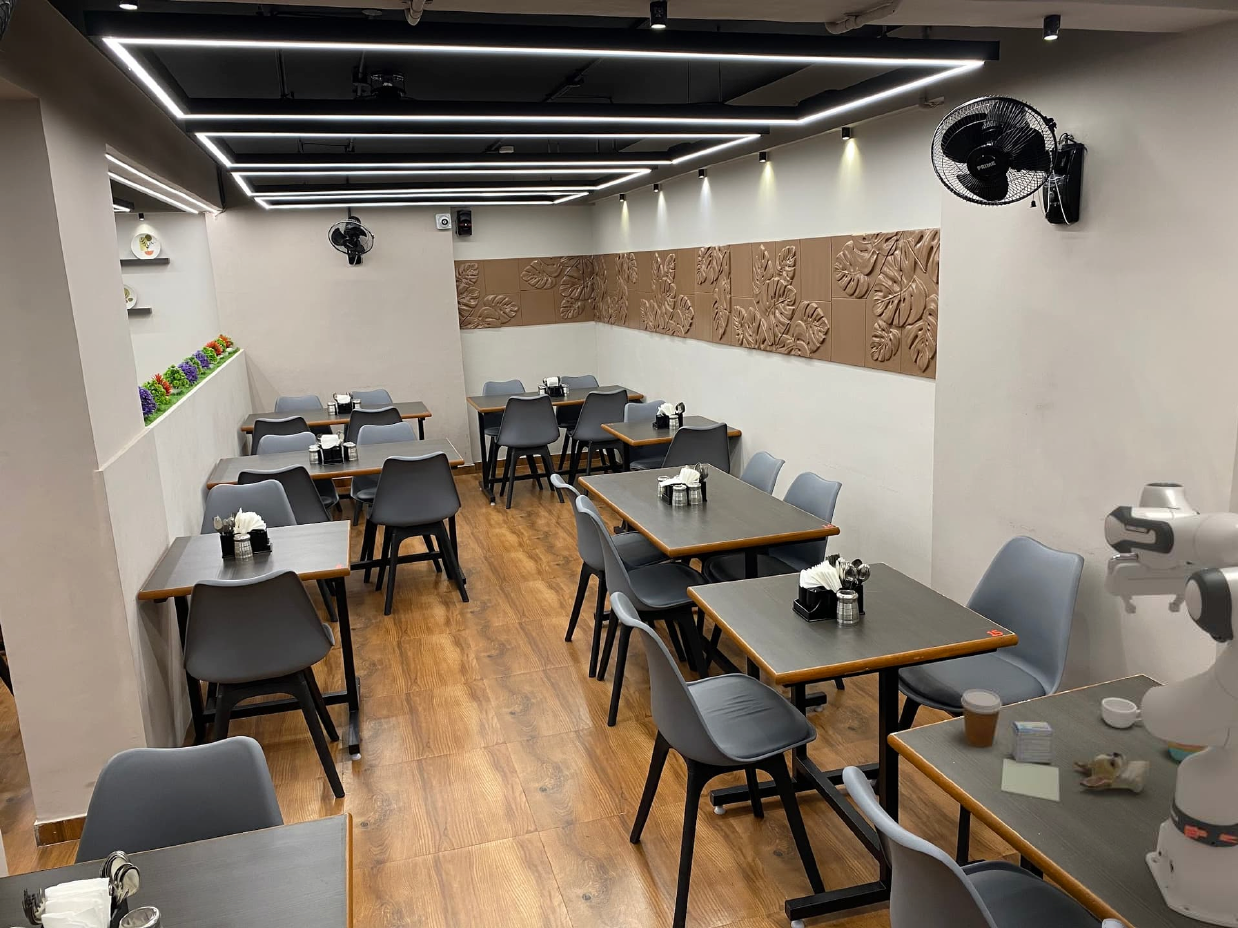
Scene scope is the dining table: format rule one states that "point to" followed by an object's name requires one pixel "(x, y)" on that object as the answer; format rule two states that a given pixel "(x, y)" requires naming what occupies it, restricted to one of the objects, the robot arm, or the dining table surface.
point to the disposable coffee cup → (980, 716)
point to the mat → (1030, 780)
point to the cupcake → (1182, 749)
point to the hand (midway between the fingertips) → (1151, 611)
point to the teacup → (1119, 712)
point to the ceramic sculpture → (1115, 772)
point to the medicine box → (1032, 742)
